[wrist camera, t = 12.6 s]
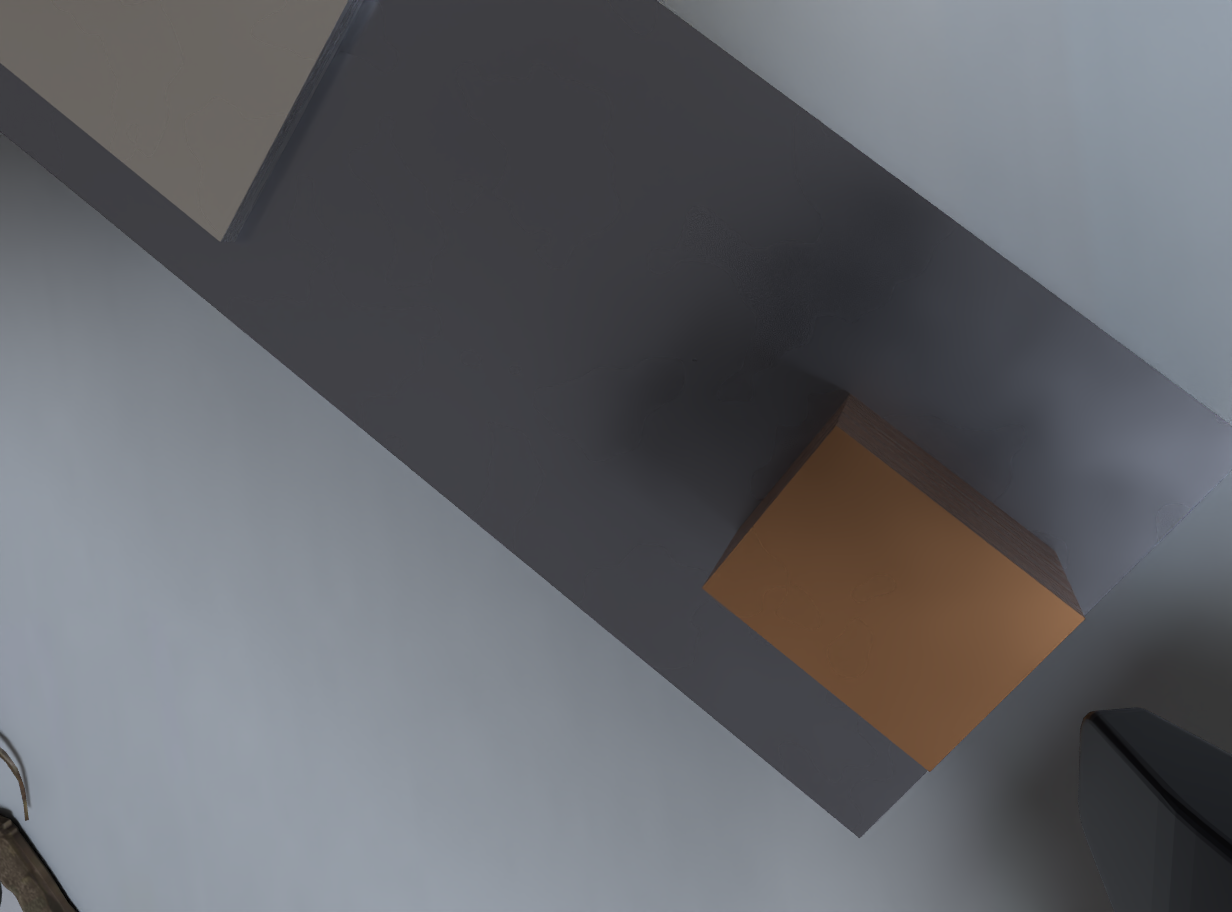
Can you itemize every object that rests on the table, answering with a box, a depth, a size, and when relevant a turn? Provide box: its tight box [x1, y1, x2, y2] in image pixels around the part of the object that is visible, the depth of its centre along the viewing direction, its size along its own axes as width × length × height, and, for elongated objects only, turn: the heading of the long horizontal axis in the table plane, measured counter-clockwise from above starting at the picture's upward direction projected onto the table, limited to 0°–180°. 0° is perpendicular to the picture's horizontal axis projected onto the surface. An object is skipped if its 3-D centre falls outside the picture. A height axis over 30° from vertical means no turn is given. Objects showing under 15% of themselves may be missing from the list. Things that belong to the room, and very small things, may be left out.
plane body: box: [0, 0, 1232, 838], centre depth 17 cm, size 27×9×6 cm, turn 54°
